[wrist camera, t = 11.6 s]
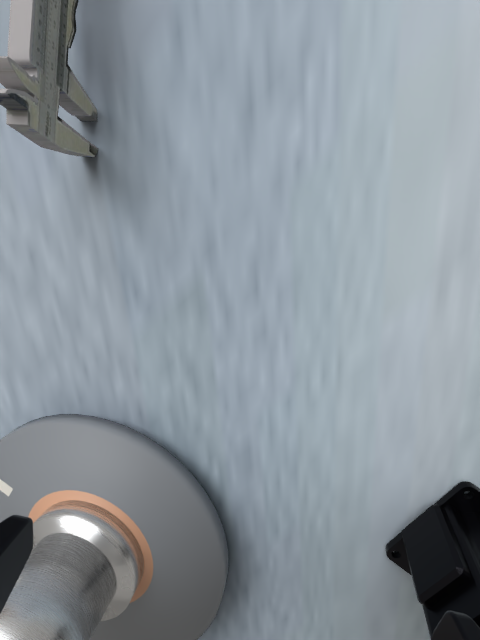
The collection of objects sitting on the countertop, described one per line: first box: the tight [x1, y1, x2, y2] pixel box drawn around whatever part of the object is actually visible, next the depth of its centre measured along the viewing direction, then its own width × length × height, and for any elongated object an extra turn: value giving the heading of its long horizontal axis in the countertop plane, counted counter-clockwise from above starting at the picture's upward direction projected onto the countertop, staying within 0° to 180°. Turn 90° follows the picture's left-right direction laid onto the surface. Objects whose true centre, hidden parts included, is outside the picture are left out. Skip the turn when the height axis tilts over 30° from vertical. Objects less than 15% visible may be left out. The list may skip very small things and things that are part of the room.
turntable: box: [0, 414, 229, 640], centre depth 25 cm, size 18×18×1 cm
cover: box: [0, 500, 144, 640], centre depth 19 cm, size 8×8×10 cm
